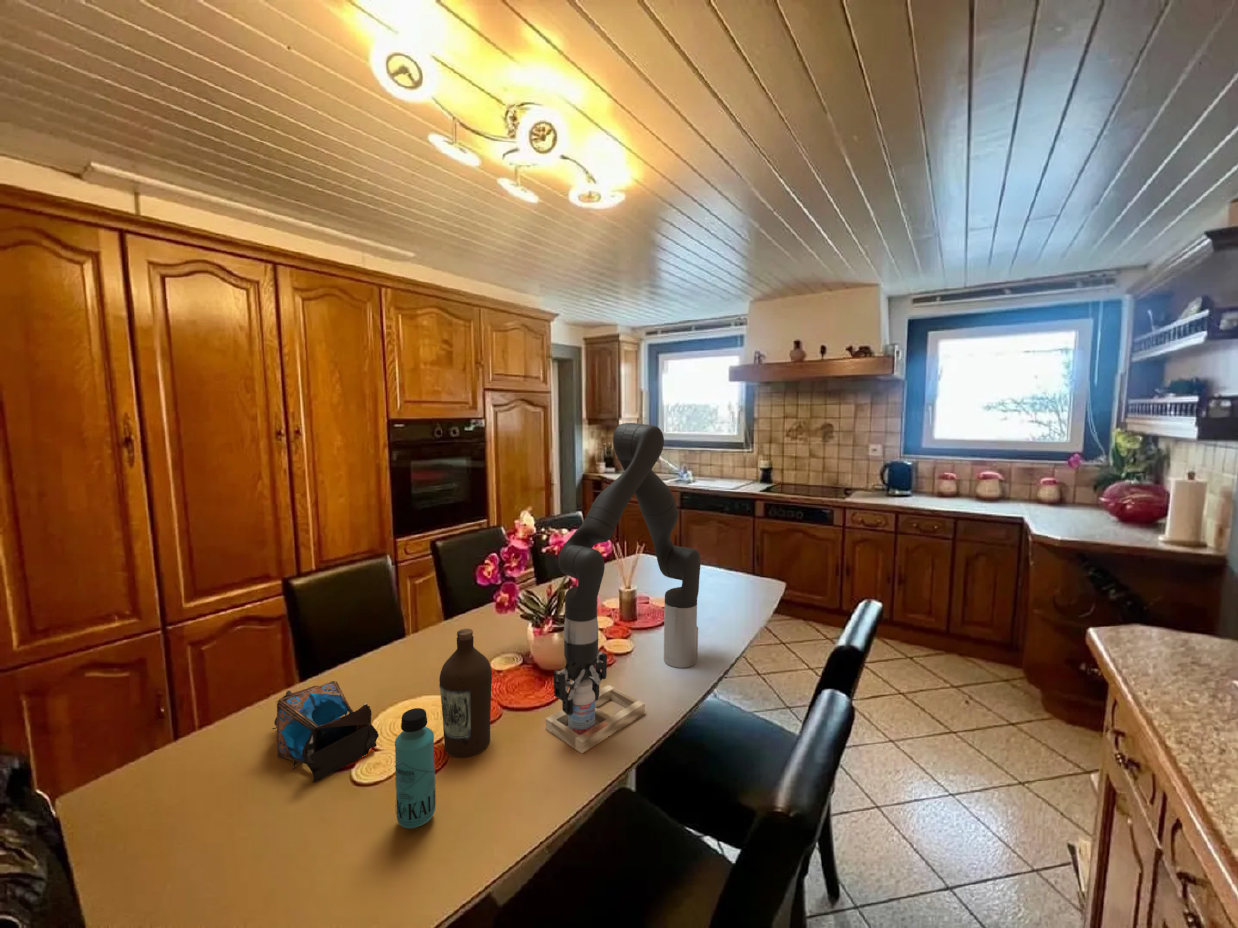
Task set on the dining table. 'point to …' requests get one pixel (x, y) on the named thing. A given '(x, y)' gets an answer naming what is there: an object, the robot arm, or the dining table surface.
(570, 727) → the pill bottle
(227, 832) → the dining table surface
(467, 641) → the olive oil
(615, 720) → the plate
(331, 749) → the lantern
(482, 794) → the dining table surface
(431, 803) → the beverage bottle
